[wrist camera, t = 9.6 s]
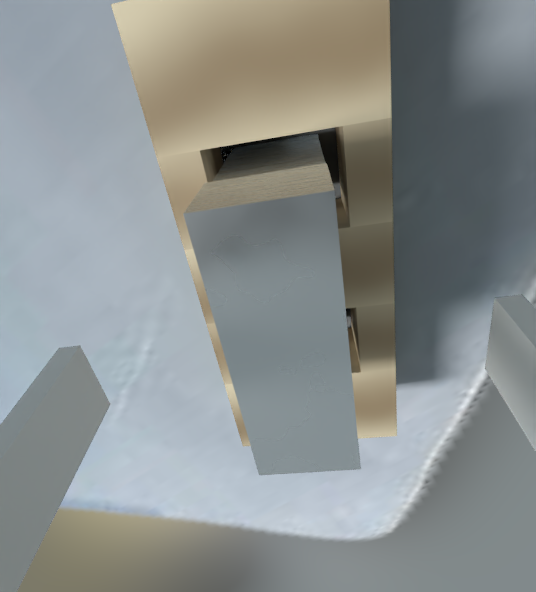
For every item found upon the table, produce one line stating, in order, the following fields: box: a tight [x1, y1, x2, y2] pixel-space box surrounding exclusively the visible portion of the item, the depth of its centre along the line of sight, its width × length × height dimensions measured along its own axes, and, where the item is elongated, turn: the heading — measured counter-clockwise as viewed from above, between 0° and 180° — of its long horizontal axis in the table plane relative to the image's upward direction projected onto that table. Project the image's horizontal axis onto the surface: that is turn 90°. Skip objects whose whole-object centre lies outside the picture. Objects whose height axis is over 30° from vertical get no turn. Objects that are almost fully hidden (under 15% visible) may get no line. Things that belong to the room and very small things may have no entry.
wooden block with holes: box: [111, 0, 397, 446], centre depth 20 cm, size 22×9×4 cm, turn 10°
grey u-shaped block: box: [183, 134, 361, 475], centre depth 18 cm, size 11×4×10 cm, turn 10°
